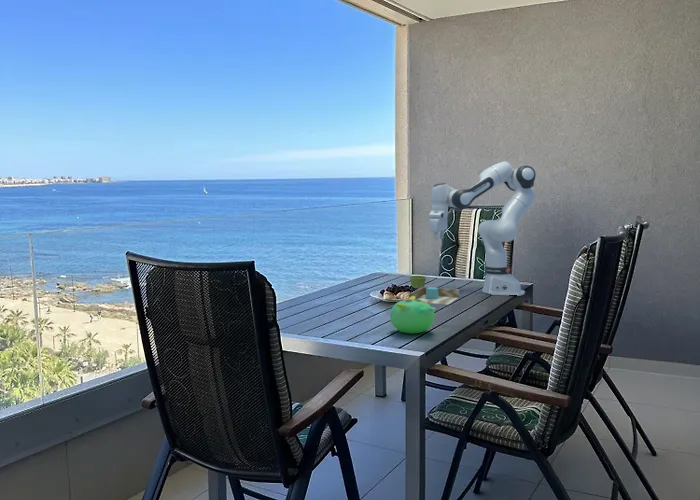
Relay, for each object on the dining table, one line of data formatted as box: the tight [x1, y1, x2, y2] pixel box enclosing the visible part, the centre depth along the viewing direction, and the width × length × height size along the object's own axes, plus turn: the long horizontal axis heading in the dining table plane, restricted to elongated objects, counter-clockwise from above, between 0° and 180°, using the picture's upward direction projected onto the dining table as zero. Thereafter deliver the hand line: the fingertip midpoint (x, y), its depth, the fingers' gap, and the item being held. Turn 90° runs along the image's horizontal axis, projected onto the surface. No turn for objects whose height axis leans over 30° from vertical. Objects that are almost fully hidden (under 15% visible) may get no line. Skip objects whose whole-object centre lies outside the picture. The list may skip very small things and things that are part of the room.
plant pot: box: [409, 275, 427, 289], centre depth 345 cm, size 9×9×9 cm
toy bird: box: [389, 296, 437, 334], centre depth 258 cm, size 18×17×15 cm
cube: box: [426, 286, 439, 299], centre depth 325 cm, size 5×5×5 cm
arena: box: [408, 286, 460, 306], centre depth 323 cm, size 20×20×5 cm
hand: (439, 239), depth 343 cm, fingers open, 8 cm apart
